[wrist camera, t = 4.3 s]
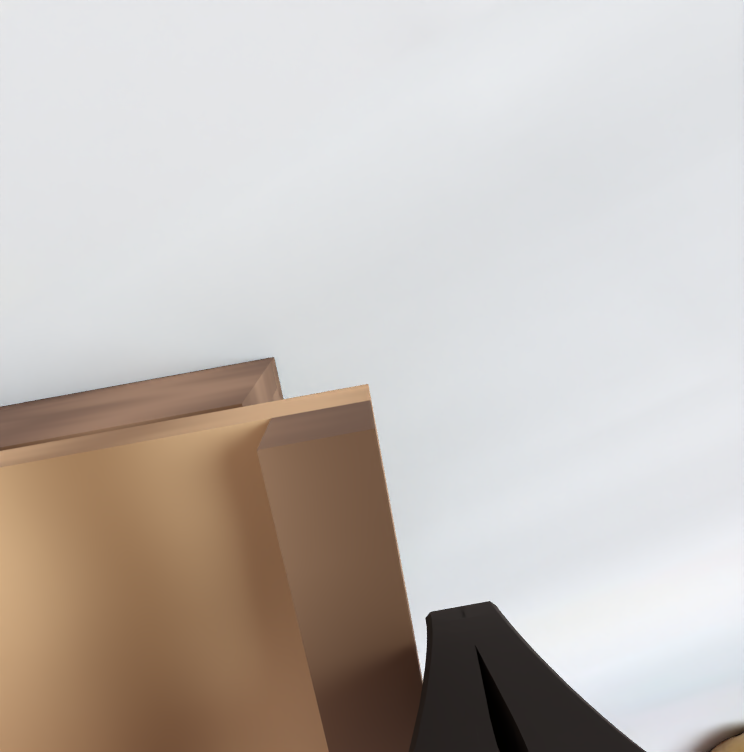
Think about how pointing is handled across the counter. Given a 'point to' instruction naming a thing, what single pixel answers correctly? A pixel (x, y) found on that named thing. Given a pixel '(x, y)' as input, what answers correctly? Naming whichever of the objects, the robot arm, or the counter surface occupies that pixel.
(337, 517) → the lid
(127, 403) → the keepsake box
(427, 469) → the counter surface
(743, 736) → the pastry
